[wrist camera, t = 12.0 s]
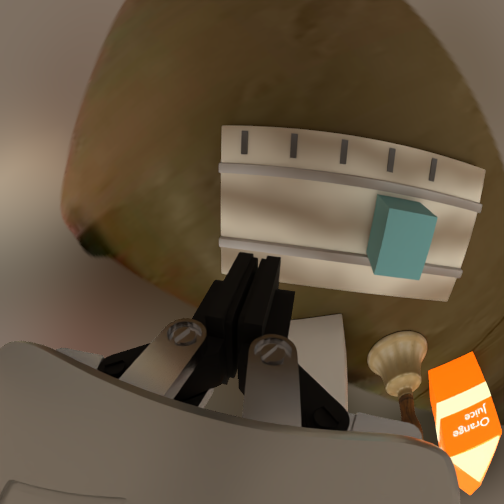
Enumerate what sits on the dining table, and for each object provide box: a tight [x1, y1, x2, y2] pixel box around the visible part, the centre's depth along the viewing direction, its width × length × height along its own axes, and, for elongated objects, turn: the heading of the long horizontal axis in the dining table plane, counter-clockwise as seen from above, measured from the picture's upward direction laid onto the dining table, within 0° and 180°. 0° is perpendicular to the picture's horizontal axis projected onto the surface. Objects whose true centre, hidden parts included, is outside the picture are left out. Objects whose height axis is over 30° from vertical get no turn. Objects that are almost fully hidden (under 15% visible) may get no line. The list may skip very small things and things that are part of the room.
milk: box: [288, 314, 348, 412], centre depth 21 cm, size 6×6×22 cm
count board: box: [219, 126, 485, 301], centre depth 22 cm, size 14×24×3 cm, turn 88°
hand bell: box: [367, 331, 427, 440], centre depth 22 cm, size 8×8×16 cm
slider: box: [366, 194, 438, 280], centre depth 19 cm, size 5×4×4 cm
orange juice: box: [428, 351, 502, 495], centre depth 21 cm, size 8×9×20 cm
